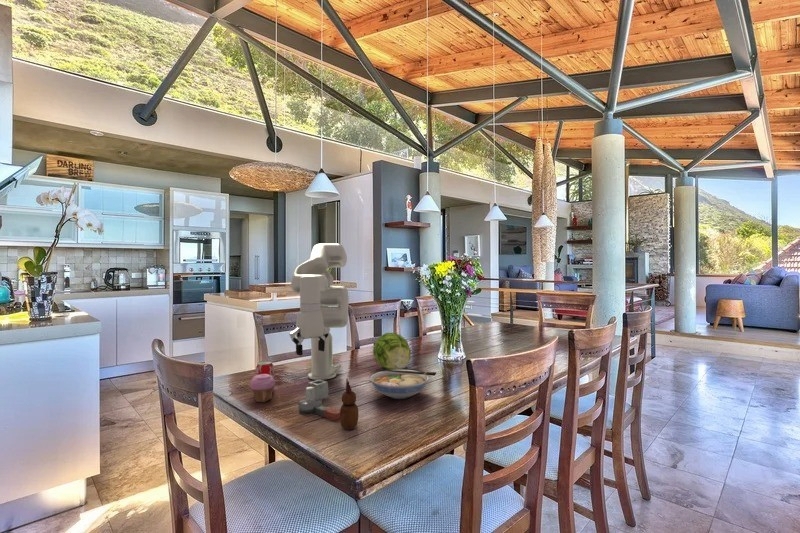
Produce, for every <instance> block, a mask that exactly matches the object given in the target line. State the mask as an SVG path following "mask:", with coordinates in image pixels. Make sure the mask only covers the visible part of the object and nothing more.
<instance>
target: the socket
mask: <svg viewBox="0 0 800 533" xmlns="http://www.w3.org/2000/svg"><path fill="white" fill-rule="evenodd" d="M307 384H308V386H307V387H314V388H315V398H317V399H320V400H326V399H327V398H328V399H329V381H327V380H313V381H312V380H311V381H308V383H307Z"/></svg>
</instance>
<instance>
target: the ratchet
mask: <svg viewBox="0 0 800 533" xmlns="http://www.w3.org/2000/svg"><path fill="white" fill-rule="evenodd" d="M322 400H323V399H322ZM322 400H320V399H317V398H315V388H314V387H308V386H307V387H305V398H303V399H301V400H299V401H298V413H299V414H303V415H312V414H315V415H318V416H320V417H323V418H324V419H327V420H329V421H333V422H338V421H340V409H336V408H332V407H327V406H324V405H323V401H322Z"/></svg>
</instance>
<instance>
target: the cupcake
mask: <svg viewBox="0 0 800 533" xmlns="http://www.w3.org/2000/svg"><path fill="white" fill-rule="evenodd" d="M275 386H276V380H275V377H274V378H273V377H272V376H270V375H269V374H260V375H256V374H255V375H254V376H252V378H251V380H250V384H249V387H250V389H251V390H252V393H253V397H254V400H255V401H256V402H259V403H265V402H267V401H269V400H271V399H272V398H273V391H272V390H273V387H274V388H275Z"/></svg>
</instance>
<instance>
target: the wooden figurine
mask: <svg viewBox="0 0 800 533" xmlns="http://www.w3.org/2000/svg"><path fill="white" fill-rule="evenodd" d="M345 382H346V384H345V391H344V392H343V393H342V394H341V402H342V404H341V406H340V409H339V411H340V420H339V421H340V425H341V428H342V429H344V430H346V431H349V430H354V429H355V428H356V427H357V425H358V422H359V408H358V405H357V403H356V401H357V394H356V392H355V391H354V390H353V389H352V388H351V384H350V381H349V380H348V378H346V381H345Z"/></svg>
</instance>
